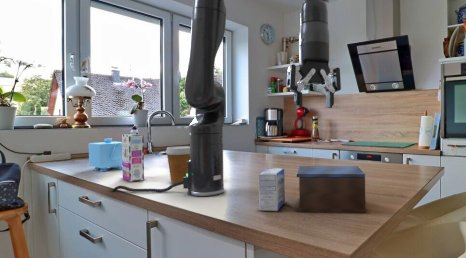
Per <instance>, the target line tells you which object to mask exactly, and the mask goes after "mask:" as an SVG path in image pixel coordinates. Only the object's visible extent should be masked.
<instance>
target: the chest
mask: <svg viewBox="0 0 466 258" xmlns="http://www.w3.org/2000/svg"><path fill="white" fill-rule="evenodd" d="M298 178H299V179H298V182H299V183H298V189H299V193H298V195H299V198H298V199H299V213H346V214H347V213H351V214H352V213H354V214H357V213H358V214H361V213H362V214H366V176H365V177H298Z"/></svg>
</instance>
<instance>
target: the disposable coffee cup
mask: <svg viewBox="0 0 466 258" xmlns="http://www.w3.org/2000/svg"><path fill="white" fill-rule="evenodd" d="M165 154H166V157H167V164H168V169H169V176H170V182H171V184H174V183H177V182H180V181H183V178H184V177H186V176H187V174H188V172H187V162H188V161H189V160H190V145H182V146H181V145H180V146H179V145H178V146H168V147H166V150H165Z"/></svg>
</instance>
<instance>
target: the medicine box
mask: <svg viewBox="0 0 466 258" xmlns="http://www.w3.org/2000/svg"><path fill="white" fill-rule="evenodd" d="M285 181H286V180H285V169H284V168H279V167H278V168H277V167H276V168H267V169H266V170H263V171H262V172H261V173H258V204H259V211H263V212H278V211H279V210H280V209H281V208H282V206H283V205H284V204H285V203H286V191H285V189H286V187H285V185H286V183H285Z"/></svg>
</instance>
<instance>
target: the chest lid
mask: <svg viewBox="0 0 466 258" xmlns="http://www.w3.org/2000/svg"><path fill="white" fill-rule="evenodd" d="M299 177H365V178H366V173H365V172H364V171H363V170H362V169H361V168H360V167H359V166H358V165H299V166H298V169H297V172H296V178H299Z"/></svg>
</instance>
